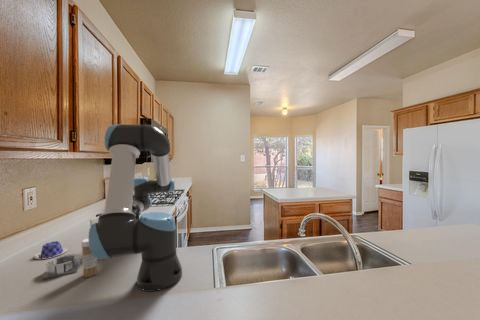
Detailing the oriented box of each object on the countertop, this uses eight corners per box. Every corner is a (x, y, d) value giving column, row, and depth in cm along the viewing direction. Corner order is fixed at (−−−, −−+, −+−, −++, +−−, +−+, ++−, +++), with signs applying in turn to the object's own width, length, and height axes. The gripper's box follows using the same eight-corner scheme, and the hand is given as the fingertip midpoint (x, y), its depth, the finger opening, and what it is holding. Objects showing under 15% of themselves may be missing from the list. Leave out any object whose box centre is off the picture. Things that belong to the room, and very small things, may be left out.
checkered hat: (28, 257, 97) (28, 246, 96) (60, 247, 107) (59, 237, 107) (41, 262, 91) (41, 250, 91) (73, 251, 102) (72, 240, 102)
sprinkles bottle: (87, 271, 82) (86, 237, 82) (100, 270, 83) (98, 236, 83) (80, 278, 78) (78, 242, 78) (93, 277, 78) (91, 241, 78)
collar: (76, 272, 82) (76, 261, 82) (43, 279, 78) (42, 269, 78) (81, 261, 91) (81, 251, 91) (51, 267, 86) (51, 257, 86)
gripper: (156, 215, 112) (135, 230, 90) (110, 216, 112) (78, 231, 91) (155, 201, 111) (134, 213, 90) (109, 202, 112) (77, 214, 91)
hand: (106, 222), depth 91 cm, fingers open, 13 cm apart
